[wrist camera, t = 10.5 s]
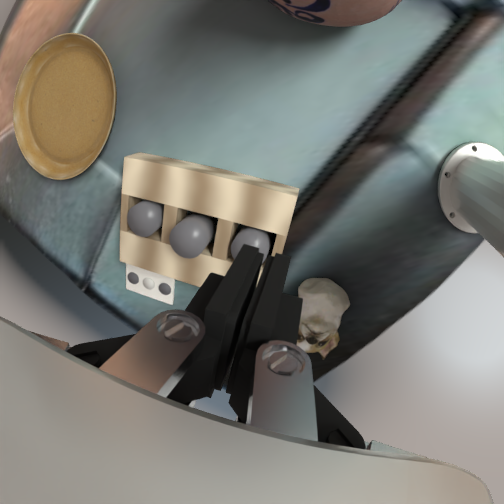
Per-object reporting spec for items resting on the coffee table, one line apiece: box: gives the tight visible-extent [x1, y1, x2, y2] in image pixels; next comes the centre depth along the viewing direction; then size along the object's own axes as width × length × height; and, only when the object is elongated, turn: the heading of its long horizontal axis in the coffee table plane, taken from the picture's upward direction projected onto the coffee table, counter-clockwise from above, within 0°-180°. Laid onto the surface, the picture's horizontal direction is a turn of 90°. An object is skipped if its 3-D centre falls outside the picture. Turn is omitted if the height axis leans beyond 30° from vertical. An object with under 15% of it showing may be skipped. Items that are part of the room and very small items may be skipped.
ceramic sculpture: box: [297, 278, 350, 360], centre depth 44 cm, size 11×9×15 cm
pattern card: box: [126, 263, 175, 305], centre depth 51 cm, size 9×6×1 cm, turn 78°
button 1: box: [127, 199, 165, 237], centre depth 43 cm, size 5×5×5 cm
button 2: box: [231, 225, 273, 263], centre depth 42 cm, size 5×5×5 cm
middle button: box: [169, 212, 216, 259], centre depth 41 cm, size 5×5×5 cm
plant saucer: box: [13, 33, 117, 180], centre depth 40 cm, size 24×24×3 cm
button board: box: [120, 152, 299, 287], centre depth 43 cm, size 23×16×4 cm
